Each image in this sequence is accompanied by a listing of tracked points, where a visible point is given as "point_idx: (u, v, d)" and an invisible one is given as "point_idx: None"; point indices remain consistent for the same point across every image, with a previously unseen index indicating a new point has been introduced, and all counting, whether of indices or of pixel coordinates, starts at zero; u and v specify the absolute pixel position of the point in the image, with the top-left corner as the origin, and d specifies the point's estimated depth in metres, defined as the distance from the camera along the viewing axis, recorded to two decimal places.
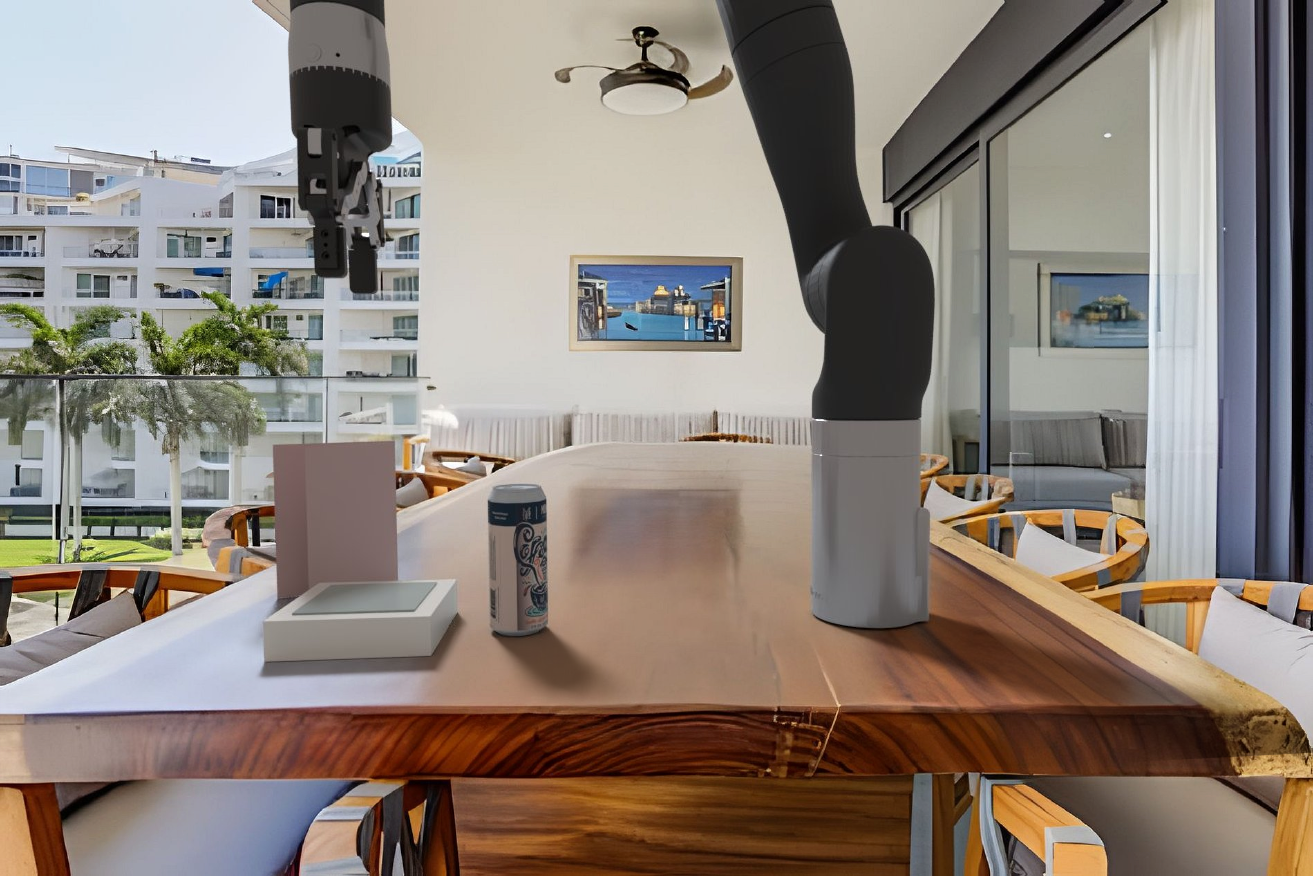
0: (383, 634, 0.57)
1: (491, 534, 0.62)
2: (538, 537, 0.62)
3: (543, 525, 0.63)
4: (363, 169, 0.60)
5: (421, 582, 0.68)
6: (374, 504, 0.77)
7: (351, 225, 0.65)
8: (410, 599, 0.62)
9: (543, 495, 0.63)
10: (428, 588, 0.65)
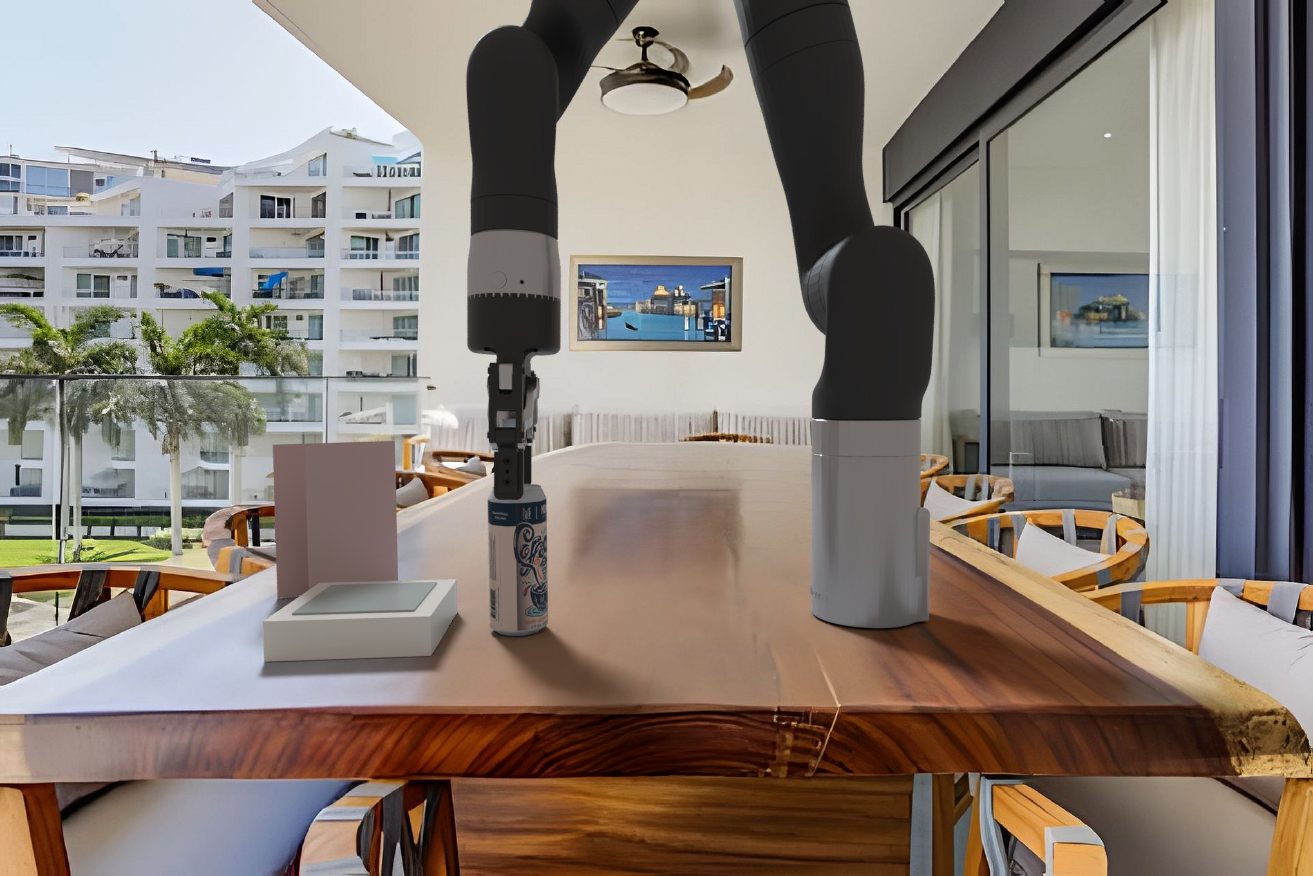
0: (383, 634, 0.57)
1: (491, 534, 0.62)
2: (538, 537, 0.62)
3: (543, 525, 0.63)
4: (536, 385, 0.62)
5: (421, 582, 0.68)
6: (374, 504, 0.77)
7: None
8: (410, 599, 0.62)
9: (543, 495, 0.63)
10: (428, 588, 0.65)
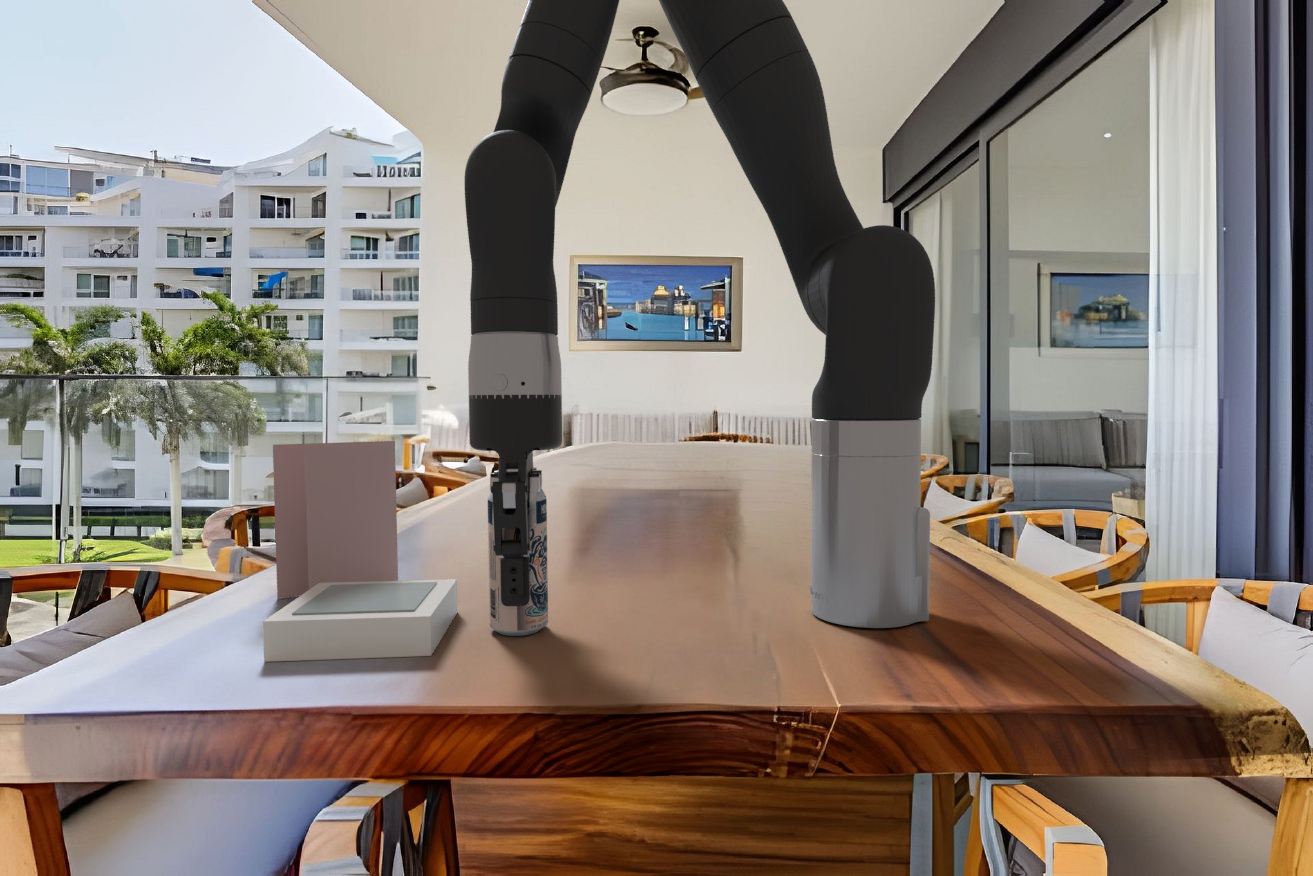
0: (383, 634, 0.57)
1: (491, 534, 0.62)
2: (538, 537, 0.62)
3: (543, 525, 0.63)
4: (539, 483, 0.62)
5: (421, 582, 0.68)
6: (374, 504, 0.77)
7: None
8: (410, 599, 0.62)
9: (543, 495, 0.63)
10: (428, 588, 0.65)
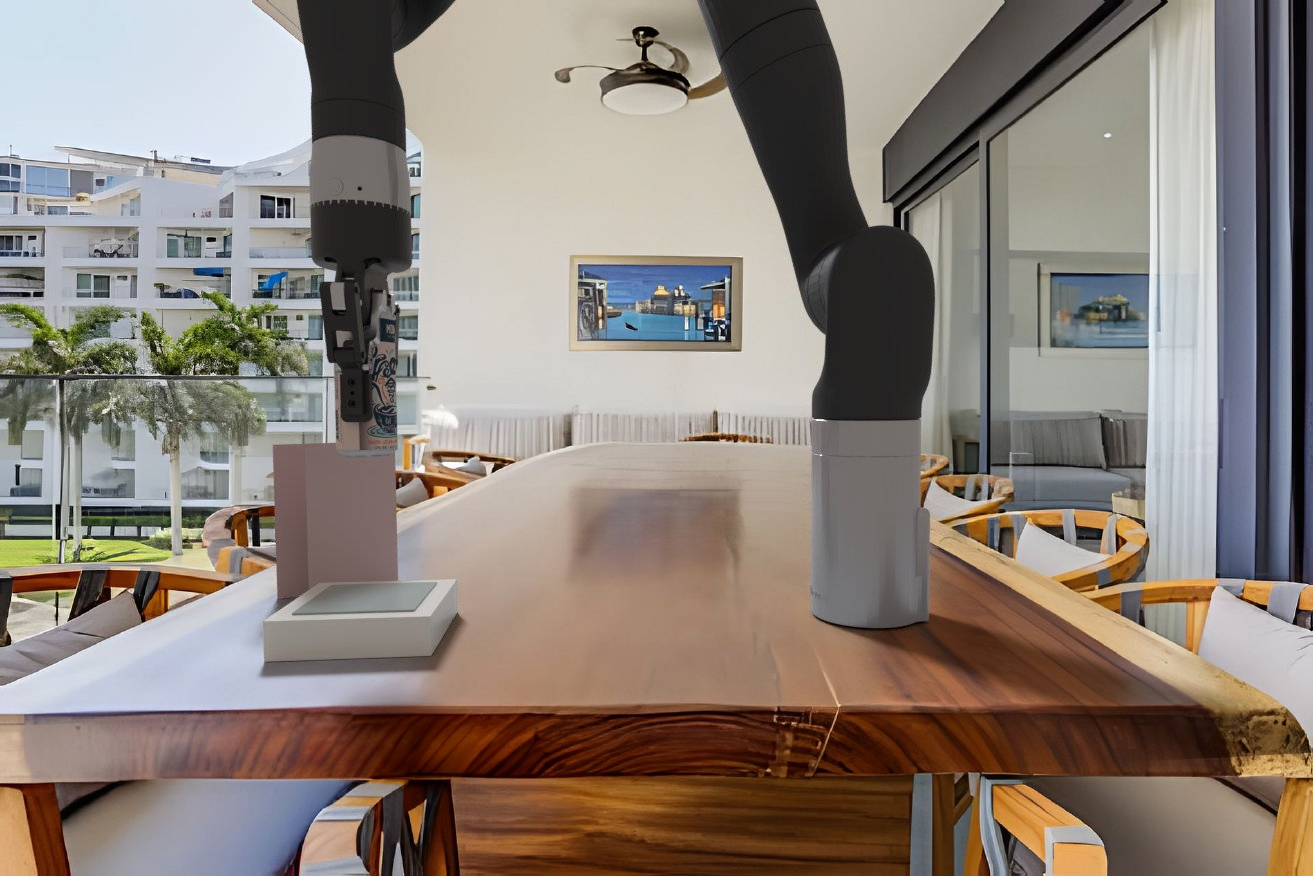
0: (383, 634, 0.57)
1: None
2: (382, 355, 0.60)
3: (389, 345, 0.61)
4: (383, 299, 0.60)
5: (421, 582, 0.68)
6: (374, 504, 0.77)
7: None
8: (410, 599, 0.62)
9: (390, 315, 0.61)
10: (428, 588, 0.65)
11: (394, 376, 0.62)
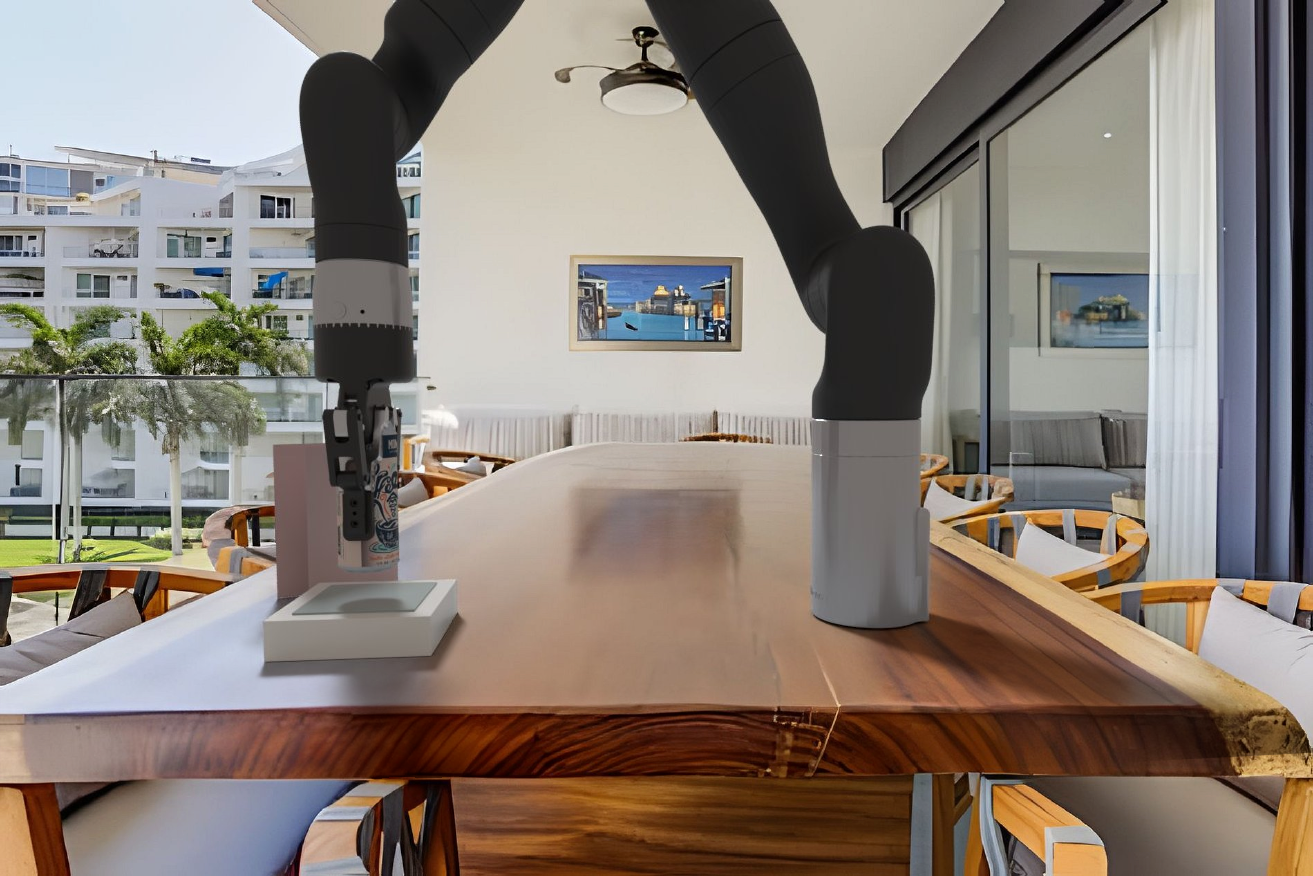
0: (383, 634, 0.57)
1: None
2: (384, 472, 0.61)
3: (391, 460, 0.62)
4: (385, 417, 0.61)
5: (421, 582, 0.68)
6: None
7: None
8: (410, 599, 0.62)
9: (392, 430, 0.62)
10: (428, 588, 0.65)
11: (396, 490, 0.62)
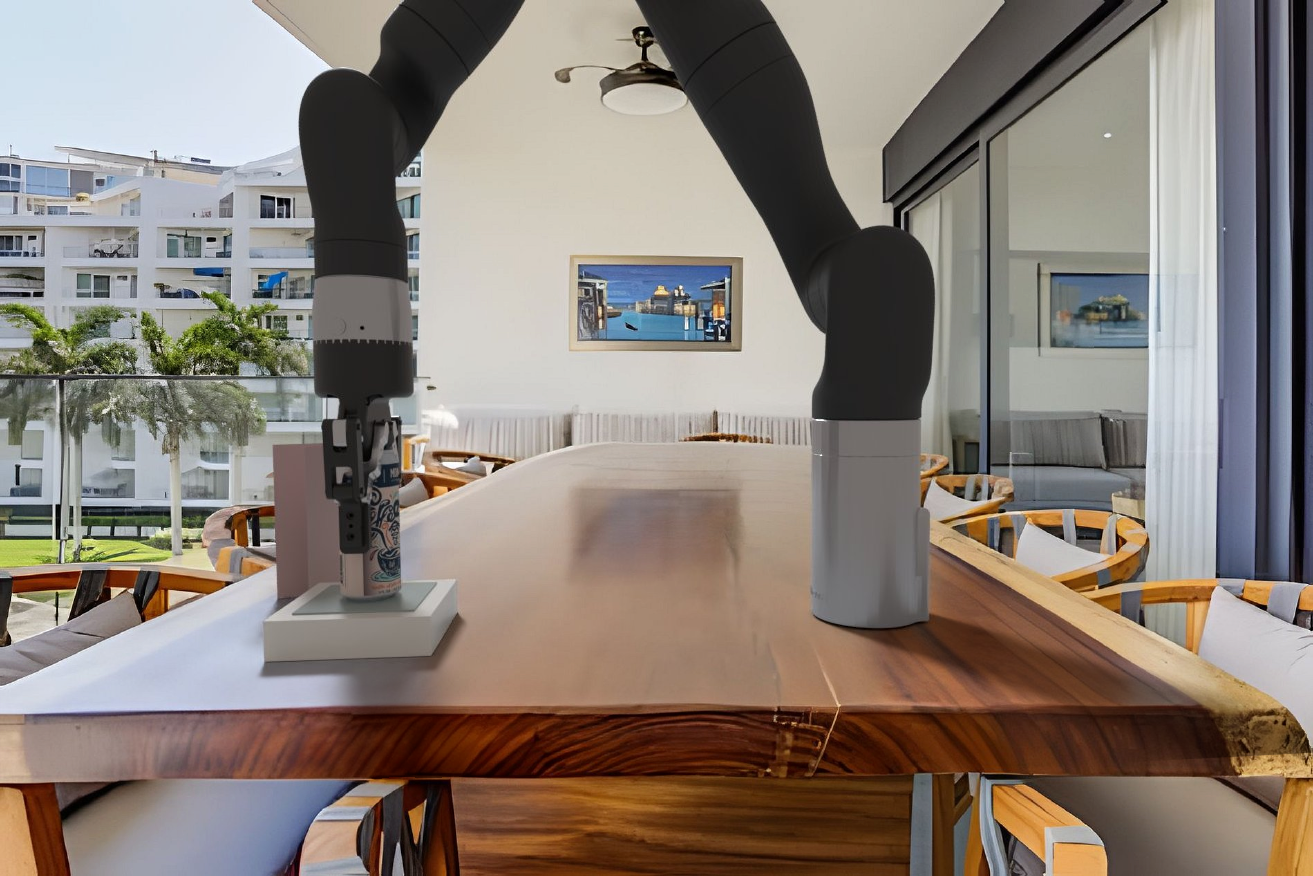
0: (383, 634, 0.57)
1: None
2: (386, 501, 0.61)
3: (393, 489, 0.62)
4: (385, 431, 0.61)
5: (421, 582, 0.68)
6: None
7: None
8: (410, 599, 0.62)
9: (394, 458, 0.62)
10: (428, 588, 0.65)
11: (398, 518, 0.63)
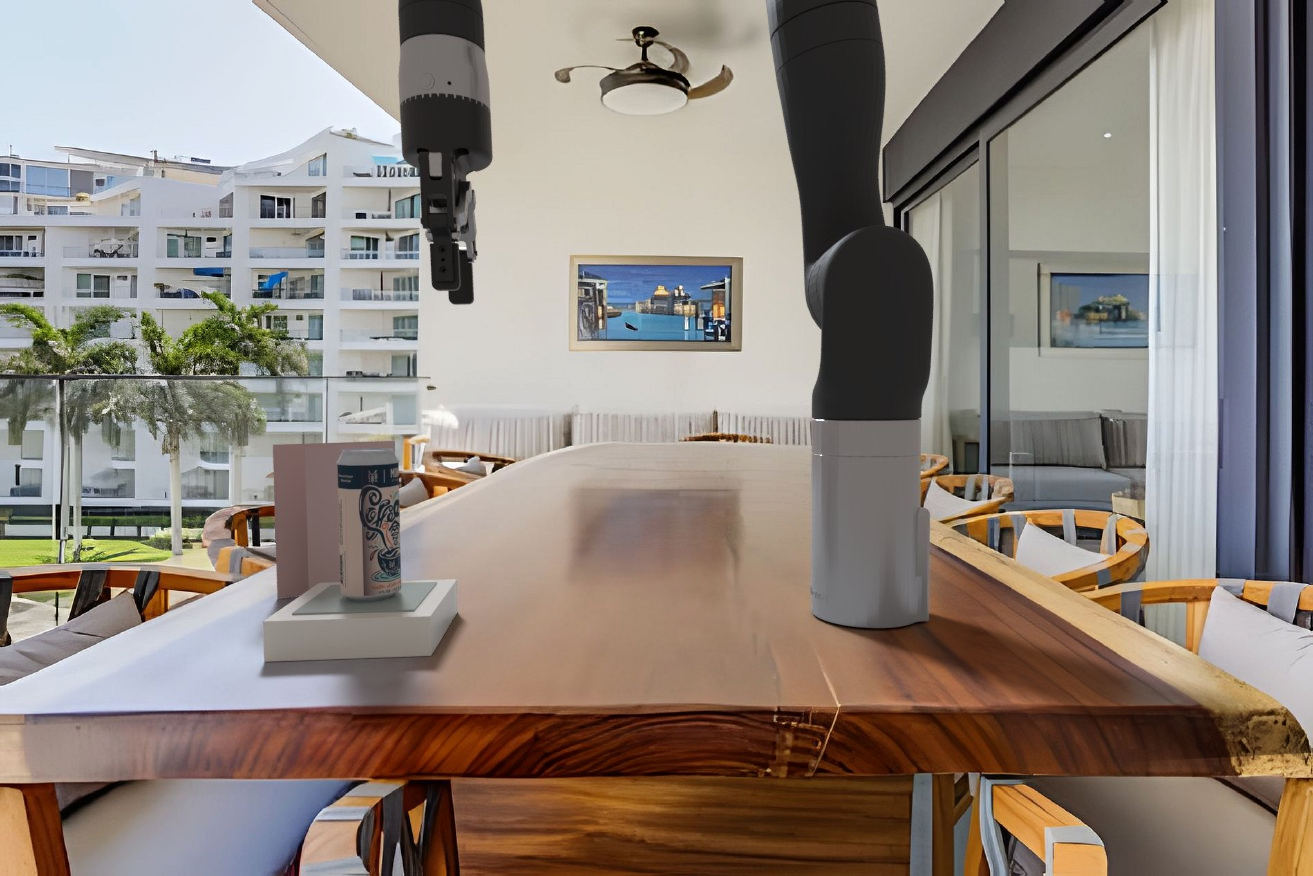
0: (383, 634, 0.57)
1: (338, 498, 0.61)
2: (386, 501, 0.61)
3: (393, 489, 0.62)
4: (470, 188, 0.65)
5: (421, 582, 0.68)
6: None
7: None
8: (410, 599, 0.62)
9: (394, 458, 0.62)
10: (428, 588, 0.65)
11: (398, 518, 0.63)
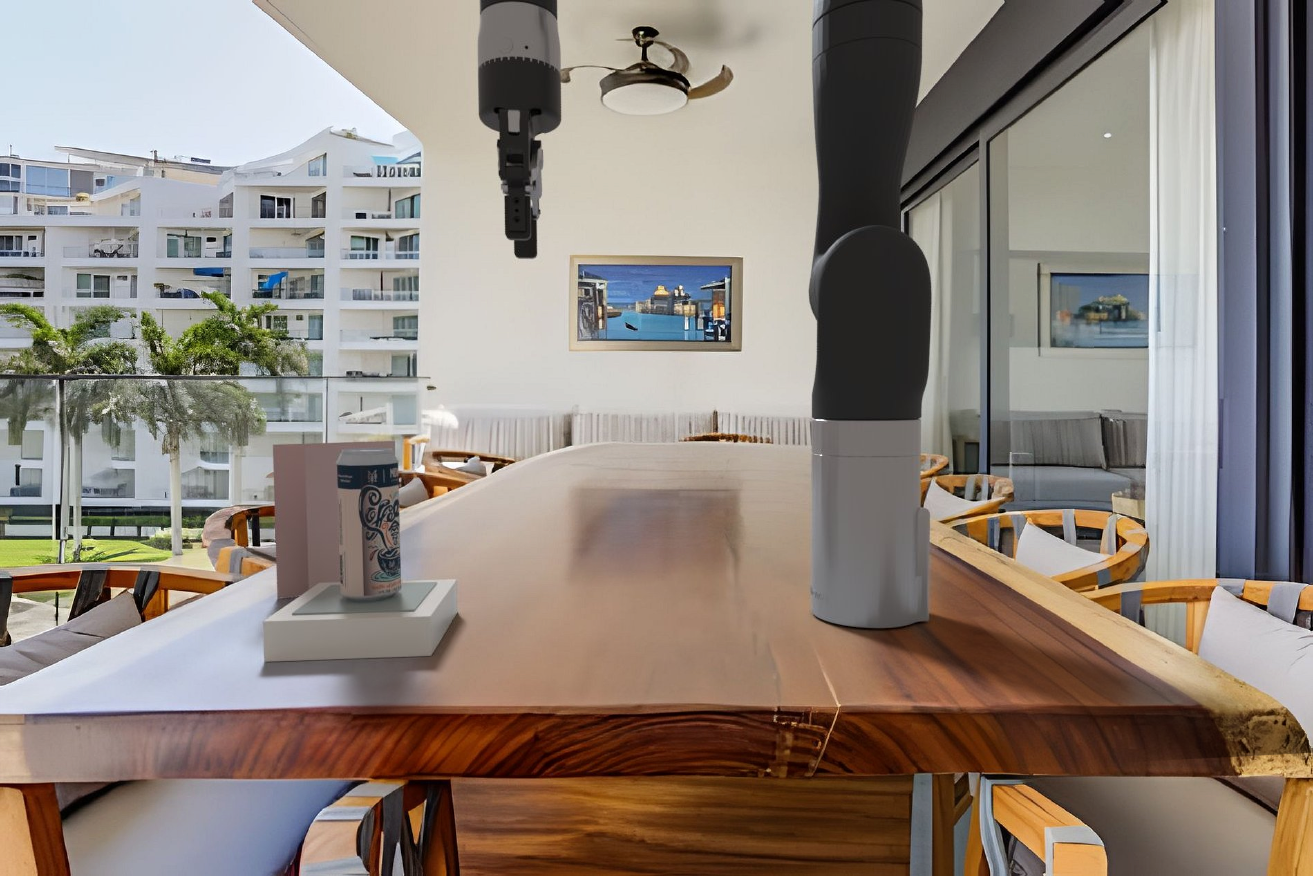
0: (383, 634, 0.57)
1: (338, 498, 0.61)
2: (386, 501, 0.61)
3: (393, 489, 0.62)
4: None
5: (421, 582, 0.68)
6: None
7: None
8: (410, 599, 0.62)
9: (394, 458, 0.62)
10: (428, 588, 0.65)
11: (398, 518, 0.63)
